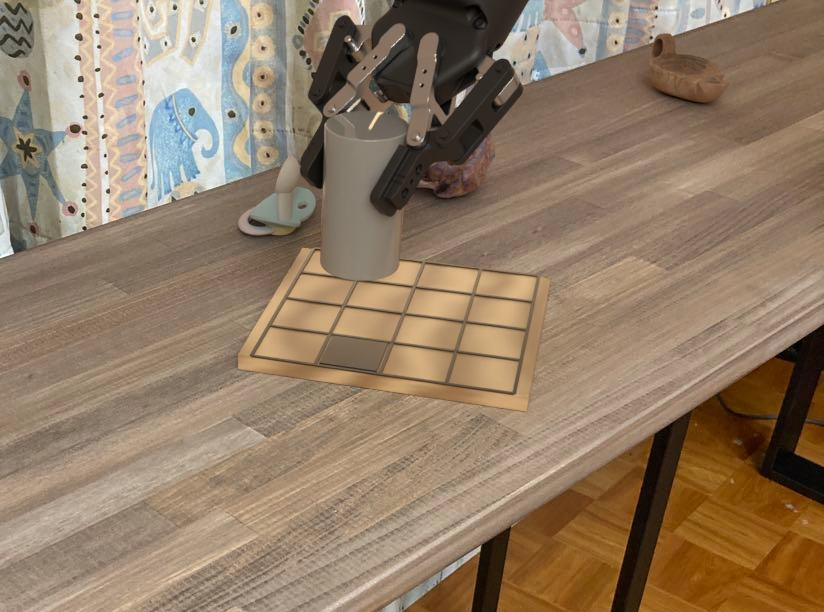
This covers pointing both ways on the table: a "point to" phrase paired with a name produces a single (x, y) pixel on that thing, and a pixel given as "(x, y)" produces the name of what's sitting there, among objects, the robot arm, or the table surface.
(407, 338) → the board
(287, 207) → the pacifier
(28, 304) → the table surface
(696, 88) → the oil lamp
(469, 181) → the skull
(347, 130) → the grey upright cylinder
